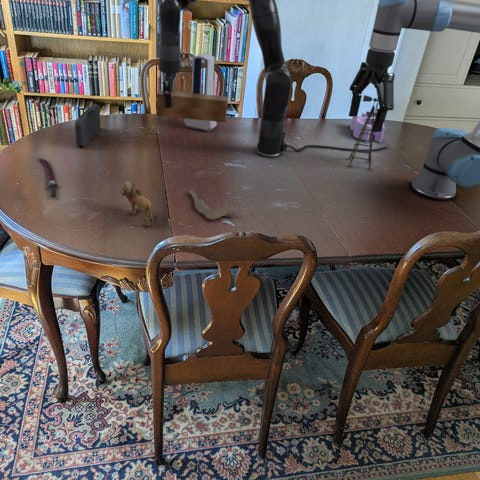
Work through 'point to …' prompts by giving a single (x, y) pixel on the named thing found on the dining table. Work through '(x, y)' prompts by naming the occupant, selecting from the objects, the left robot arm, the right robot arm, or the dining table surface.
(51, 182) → the sword
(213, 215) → the jawbone
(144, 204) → the lion figurine
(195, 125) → the electronic device
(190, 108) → the bar
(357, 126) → the purple notched block
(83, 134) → the handheld gaming console
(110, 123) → the dining table surface
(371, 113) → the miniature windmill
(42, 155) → the dining table surface
